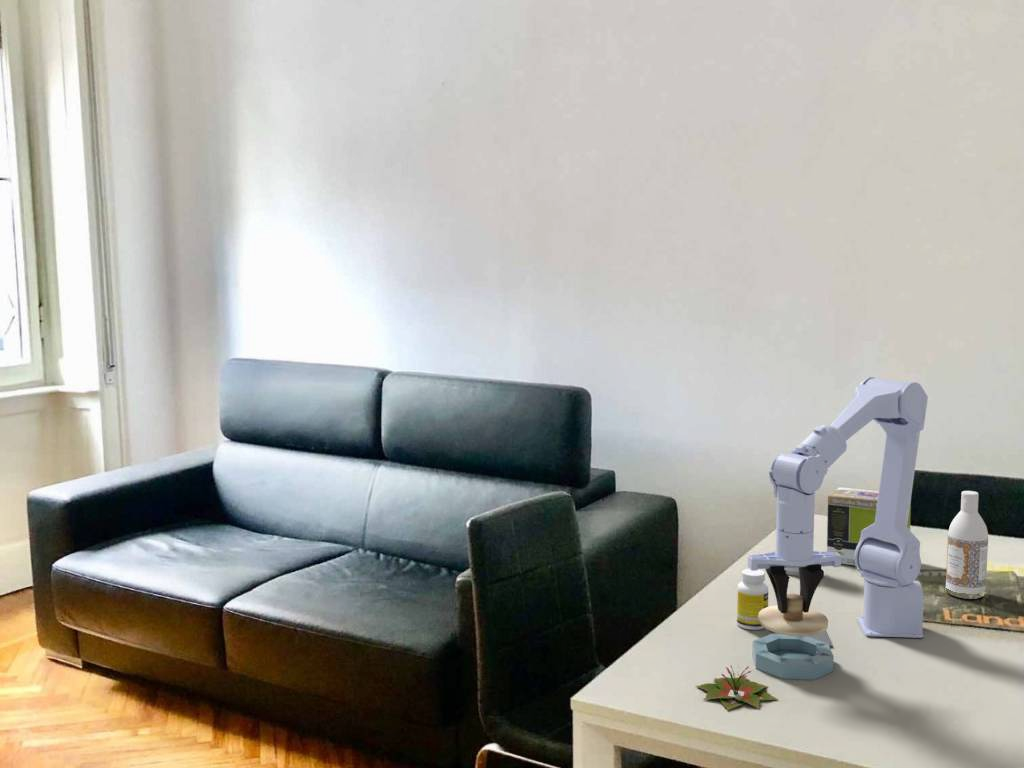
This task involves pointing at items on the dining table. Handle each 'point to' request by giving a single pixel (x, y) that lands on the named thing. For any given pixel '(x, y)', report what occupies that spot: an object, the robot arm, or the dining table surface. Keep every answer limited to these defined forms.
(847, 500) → the tea box
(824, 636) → the mat
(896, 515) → the robot arm
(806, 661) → the bowl
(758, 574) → the supplement bottle
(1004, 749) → the dining table surface
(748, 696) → the lily flower
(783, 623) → the lid
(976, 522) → the bath foam
